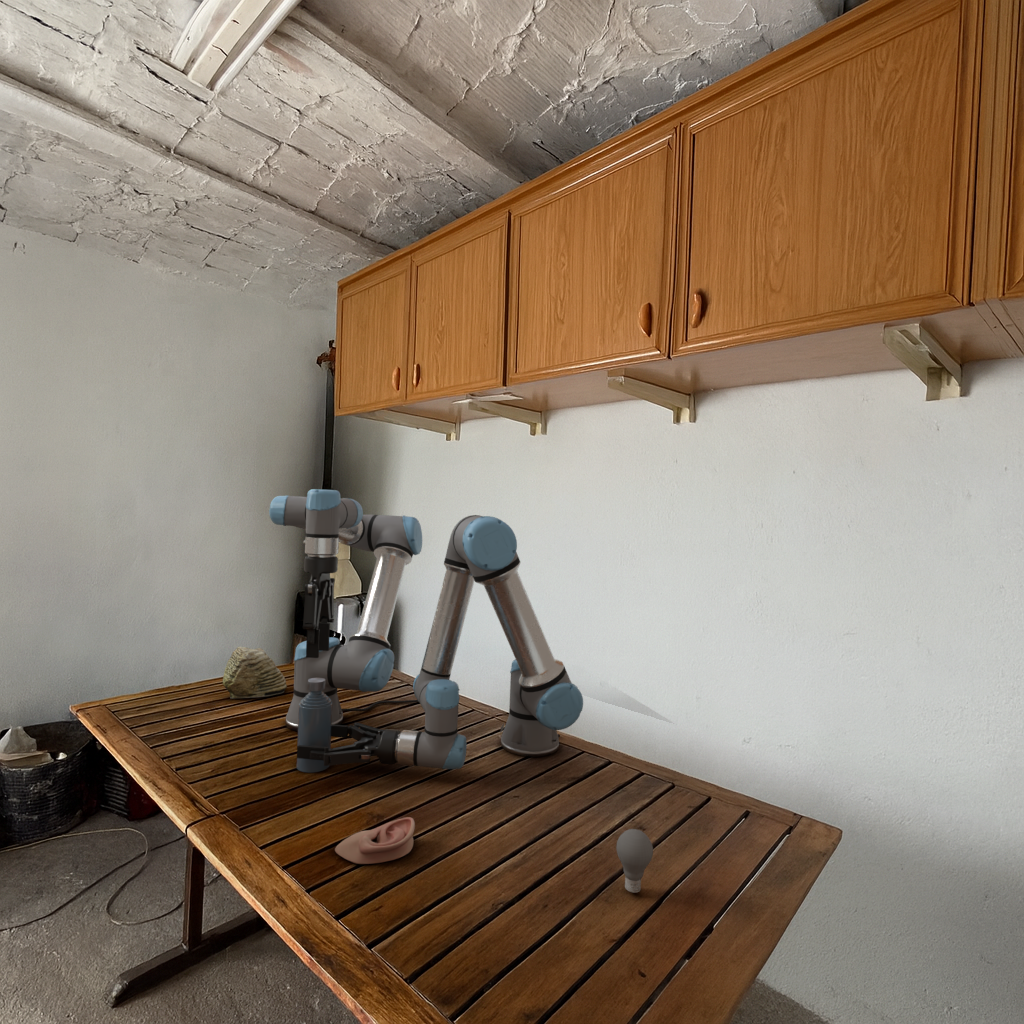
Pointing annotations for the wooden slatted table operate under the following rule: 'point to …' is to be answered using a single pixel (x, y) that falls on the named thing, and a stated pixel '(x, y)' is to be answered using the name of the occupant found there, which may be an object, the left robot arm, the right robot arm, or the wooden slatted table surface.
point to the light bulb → (634, 857)
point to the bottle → (314, 727)
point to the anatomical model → (379, 843)
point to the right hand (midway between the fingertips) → (310, 740)
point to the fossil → (252, 674)
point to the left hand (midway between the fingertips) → (317, 653)
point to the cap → (316, 684)
